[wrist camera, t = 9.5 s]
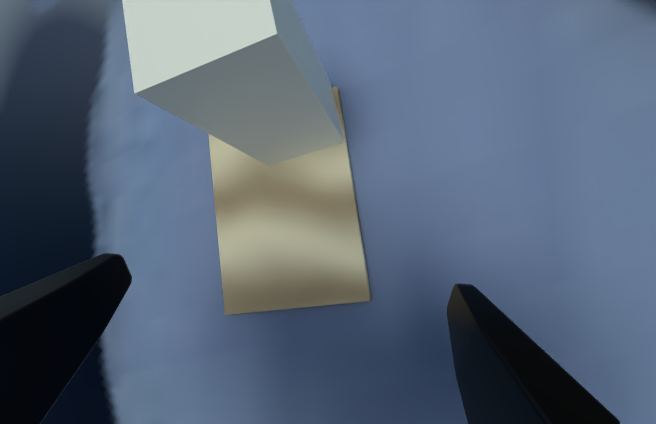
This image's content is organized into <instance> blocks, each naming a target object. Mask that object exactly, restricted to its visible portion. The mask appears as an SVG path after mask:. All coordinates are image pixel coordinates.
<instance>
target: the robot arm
mask: <svg viewBox="0 0 656 424" xmlns="http://www.w3.org/2000/svg"><path fill="white" fill-rule="evenodd" d="M131 281H132V276H131V274H130V271H129V269H128V267H127V264H126V262H125V260H124V258H123V257H122V256H121V255H119V254H110V253H105V254H102V255H99V256H97V257H94V258H92V259H90V260H88V261H85V262H82V263H80V264H78V265H75V266H73V267H70V268H68V269H66V270H63V271H61V272H59V273H56V274H54V275H52V276H49V277H46V278H44V279H42V280H39V281H37V282H35V283H32V284H30V285H28V286H25V287H23V288H20V289H18V290H15V291H13V292H11V293H8V294H6V295H3V296H1V297H0V424H40V423H41V422H42V421H43V419H44V418H45V416H46V415H47V413H48V412H49V410H50V409H51V407H52V406H53V405H54V403H55V402H56V400H57V399H58V397H59V396H60V394H61V393H62V392H63V390H64V389H65V387H66V386H67V384H68V383H69V382H70V380H71V379H72V377H73V376H74V374H75V373H76V371H77V370H78V368H79V367H80V366H81V364H82V363H83V361H84V360H85V358H86V357H87V356H88V354H89V353H90V351H91V350H92V348H93V347H94V345H95V344H96V343H97V341H98V340H99V338H100V337H101V335H102V333H103V332H104V330H105V328H106V327H107V325H108V323H109V321H110V320H111V318H112V316H113V314H114V313H115V311H116V309H117V307H118V306H119V304H120V302H121V300H122V299H123V297H124V295H125V293H126V292H127V290H128V288H129V286H130V284H131ZM447 318H448V325H449V332H450V339H451V345H452V352H453V359H454V366H455V372H456V377H457V382H458V386H459V390H460V394H461V397H462V401H463V405H464V409H465V413H466V417H467V421H468V424H620V421H619V420H618V419H617V418H616V417H615V416H614V415H613V414H612V413H611V412H609V411H608V410H607V409H606V408H605V407H604V406H603V405H602V404H601V403H600V402H599V401H598V400H597V399H595V398H594V397H593V396H592V395H591V394H590V393H589V392H588V391H587V390H586V389H585V388H584V387H583V386H581V385H580V384H579V383H578V382H577V381H576V380H575V379H574V378H573V377H572V376H571V375H570V374H568V373H567V372H566V371H565V370H564V369H563V368H562V367H561V366H560V365H559V364H558V363H557V362H556V361H554V360H553V359H552V358H551V357H550V356H549V355H548V354H547V353H546V352H545V351H544V350H543V349H542V348H540V347H539V346H538V345H537V344H536V343H535V342H534V341H533V340H532V339H531V338H530V337H529V336H528V335H526V334H525V333H524V332H523V331H522V330H521V329H520V328H519V327H518V326H517V325H516V324H515V323H513V322H512V321H511V320H510V319H509V318H508V317H507V316H506V315H505V314H504V313H503V312H502V311H501V310H499V309H498V308H497V307H496V306H495V305H494V304H493V303H492V302H491V301H490V300H489V299H488V298H487V297H485V296H484V295H483V294H482V293H481V292H480V291H479V290H478V289H477V288H476V287H474V286H473V285H470V284H455V285H454V287H453V290H452V293H451V296H450V299H449V303H448V306H447Z"/></svg>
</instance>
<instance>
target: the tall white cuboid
mask: <svg viewBox="0 0 656 424" xmlns="http://www.w3.org/2000/svg"><path fill="white" fill-rule="evenodd" d="M122 2H123V9H124V17H125V25H126V32H127V40H128V47H129V55H130V63H131V70H132V78H133V85H134V93H135V94H136V95H138V96H140V97H142V98H144V99H146V100H147V101H149V102H151V103H153V104H155V105H157V106H158V107H160V108H162V109H164V110H166V111H168V112H170V113H171V114H173V115H175V116H177V117H179V118H181V119H182V120H184V121H186V122H188V123H190V124H192V125H194V126H195V127H197V128H199V129H201V130H203V131H205V132H206V133H208V134H210V135H212V136H214V137H216V138H218V139H219V140H221V141H223V142H225V143H227V144H229V145H230V146H232V147H234V148H236V149H238V150H240V151H242V152H243V153H245V154H247V155H249V156H251V157H253V158H254V159H256V160H258V161H260V162H262V163H264V164H265V165H267V166H270V165H274V164H277V163H280V162H283V161H286V160H290V159H293V158H296V157H299V156H303V155H306V154H309V153H312V152H315V151H319V150H322V149H325V148H328V147H331V146H335V145H338V144H341V143H344V142H345V141H344V137H343V133H342V129H341V125H340V121H339V116H338V112H337V108H336V104H335V100H334V96H333V92H332V87H331V83H330V80H329V77H328V75H327V73H326V71H325V69H324V67H323V65H322V63H321V61H320V58H319V56H318V54H317V52H316V50H315V48H314V46H313V44H312V42H311V39H310V37H309V35H308V33H307V31H306V29H305V27H304V25H303V23H302V20H301V18H300V16H299V14H298V12H297V10H296V8H295V6H294V4H293V1H292V0H122Z"/></svg>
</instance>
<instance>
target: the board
mask: <svg viewBox="0 0 656 424" xmlns="http://www.w3.org/2000/svg"><path fill="white" fill-rule="evenodd" d="M332 92H333V96H334V100H335V104H336V108H337V112H338V116H339V121H340V125H341V129H342V133H343V137H344V141H345V142H344V143H341V144H338V145H335V146H331V147H328V148H325V149H322V150H319V151H315V152H312V153H309V154H306V155H303V156H299V157H296V158H293V159H290V160H286V161H283V162H280V163H277V164H274V165H270V166H267V165H265V164H264V163H262V162H260V161H258V160H256V159H254V158H253V157H251V156H249V155H247V154H245V153H243V152H242V151H240V150H238V149H236V148H234V147H232V146H230V145H229V144H227V143H225V142H223V141H221V140H219V139H218V138H216V137H214V136H212V135H210V134H209V144H210V155H211V166H212V177H213V188H214V199H215V210H216V221H217V232H218V243H219V254H220V265H221V276H222V287H223V298H224V309H225V315H231V314H241V313H251V312H262V311H272V310H282V309H293V308H303V307H313V306H323V305H334V304H344V303H354V302H364V301H371V292H370V286H369V279H368V273H367V267H366V260H365V254H364V247H363V241H362V234H361V228H360V221H359V215H358V208H357V202H356V196H355V189H354V183H353V176H352V170H351V163H350V157H349V150H348V144H347V137H346V131H345V125H344V118H343V112H342V105H341V99H340V92H339V89H338V86H335V87H332Z"/></svg>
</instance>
